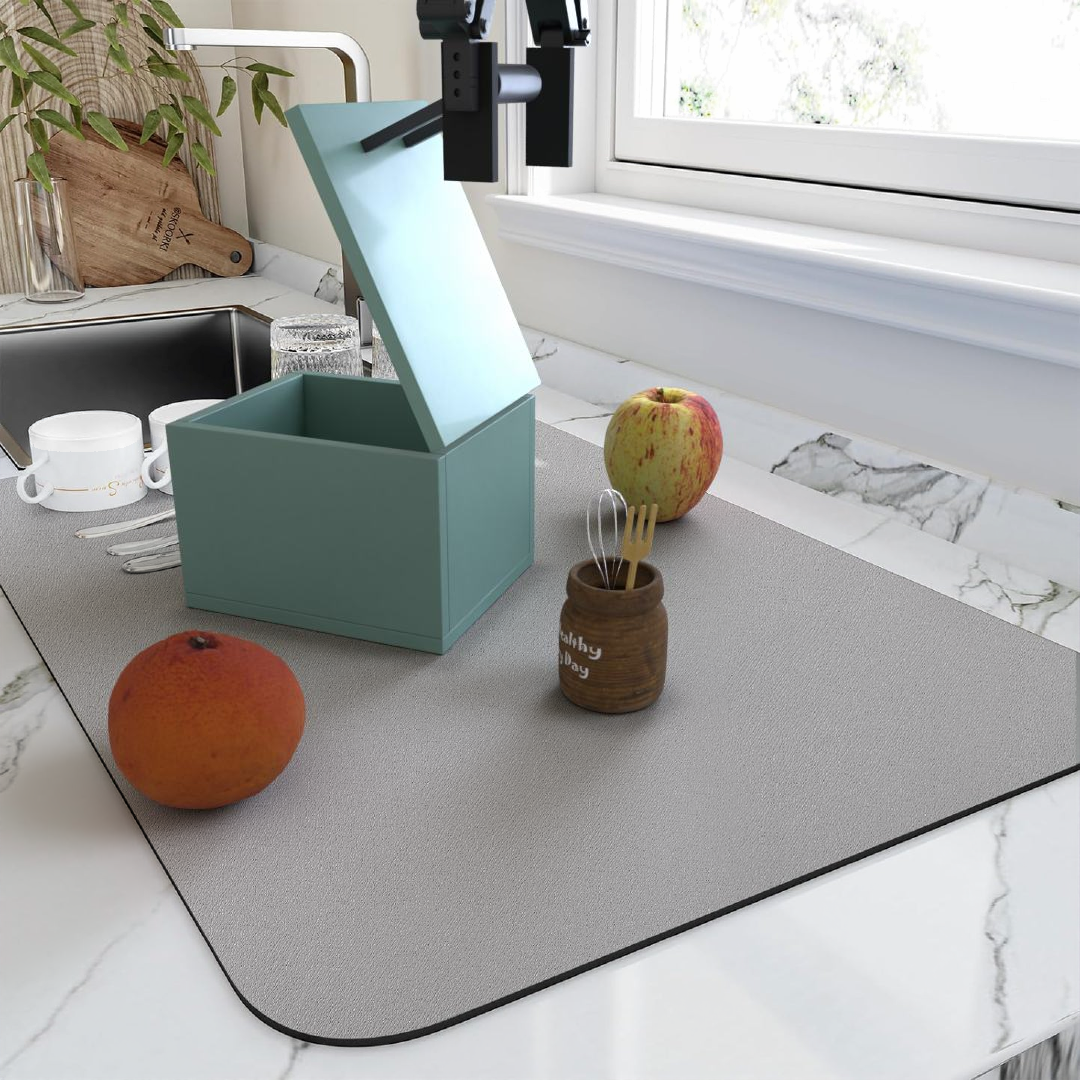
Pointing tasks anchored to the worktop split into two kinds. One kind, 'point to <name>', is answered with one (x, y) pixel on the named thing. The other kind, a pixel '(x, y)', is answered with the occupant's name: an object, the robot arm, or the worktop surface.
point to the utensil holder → (615, 625)
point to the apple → (663, 451)
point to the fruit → (204, 719)
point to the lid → (420, 254)
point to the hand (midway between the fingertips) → (513, 173)
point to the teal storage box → (350, 510)
